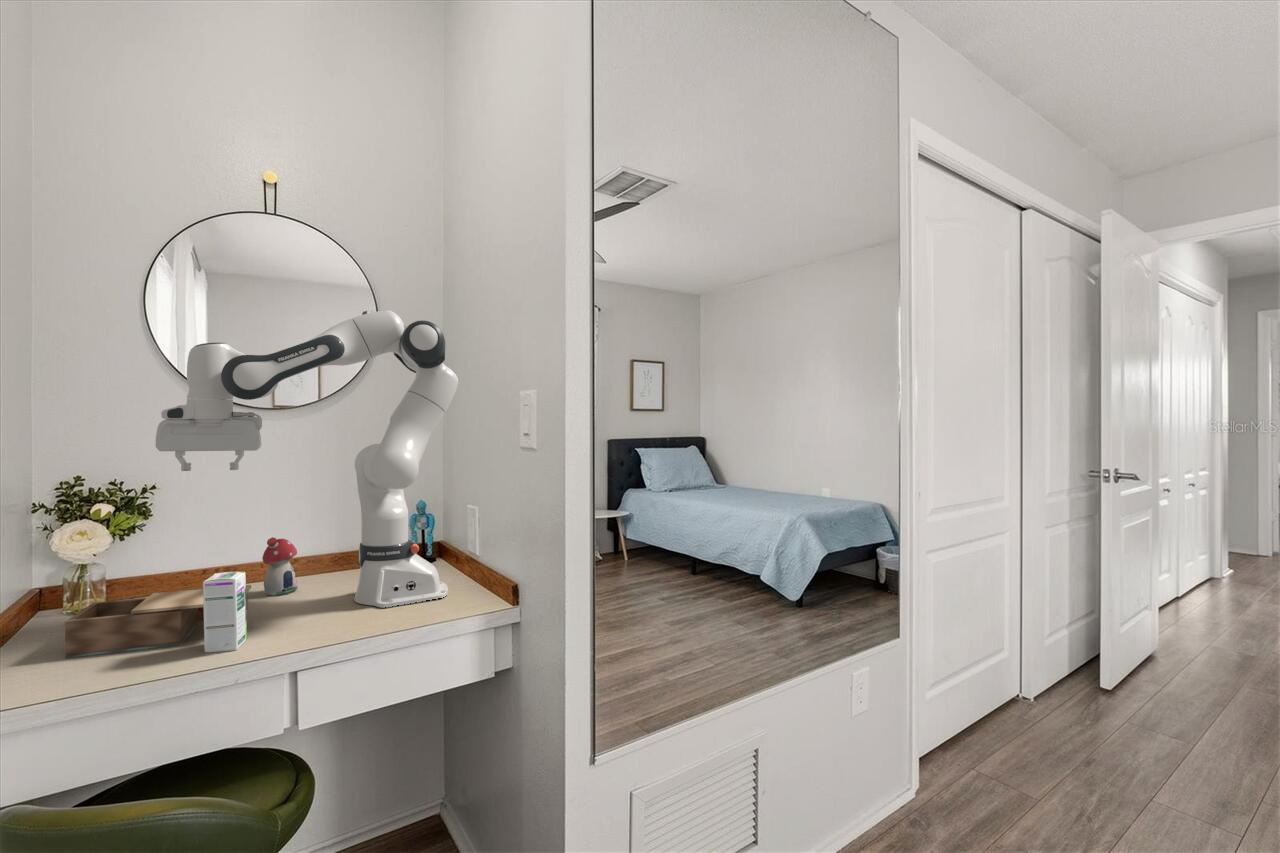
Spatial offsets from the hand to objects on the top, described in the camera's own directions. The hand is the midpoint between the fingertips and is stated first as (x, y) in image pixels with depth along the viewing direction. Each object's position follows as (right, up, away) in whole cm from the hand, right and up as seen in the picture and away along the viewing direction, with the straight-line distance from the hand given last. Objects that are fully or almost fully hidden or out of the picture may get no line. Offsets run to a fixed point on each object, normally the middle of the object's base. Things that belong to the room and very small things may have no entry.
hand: (210, 470), depth 141 cm
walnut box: (-2, -34, -18) cm, 38 cm away
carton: (0, -34, -3) cm, 34 cm away
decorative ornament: (+8, -33, +14) cm, 37 cm away
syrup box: (+18, -34, -20) cm, 44 cm away
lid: (+7, -26, -14) cm, 31 cm away
